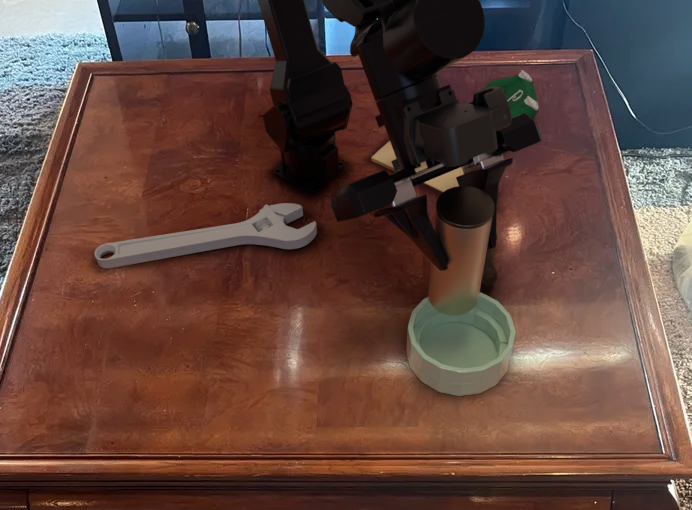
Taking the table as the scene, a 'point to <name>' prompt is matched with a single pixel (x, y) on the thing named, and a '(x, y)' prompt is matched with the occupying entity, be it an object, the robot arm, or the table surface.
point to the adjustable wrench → (214, 238)
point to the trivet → (417, 169)
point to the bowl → (460, 346)
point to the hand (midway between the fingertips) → (467, 259)
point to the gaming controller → (518, 93)
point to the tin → (460, 248)
